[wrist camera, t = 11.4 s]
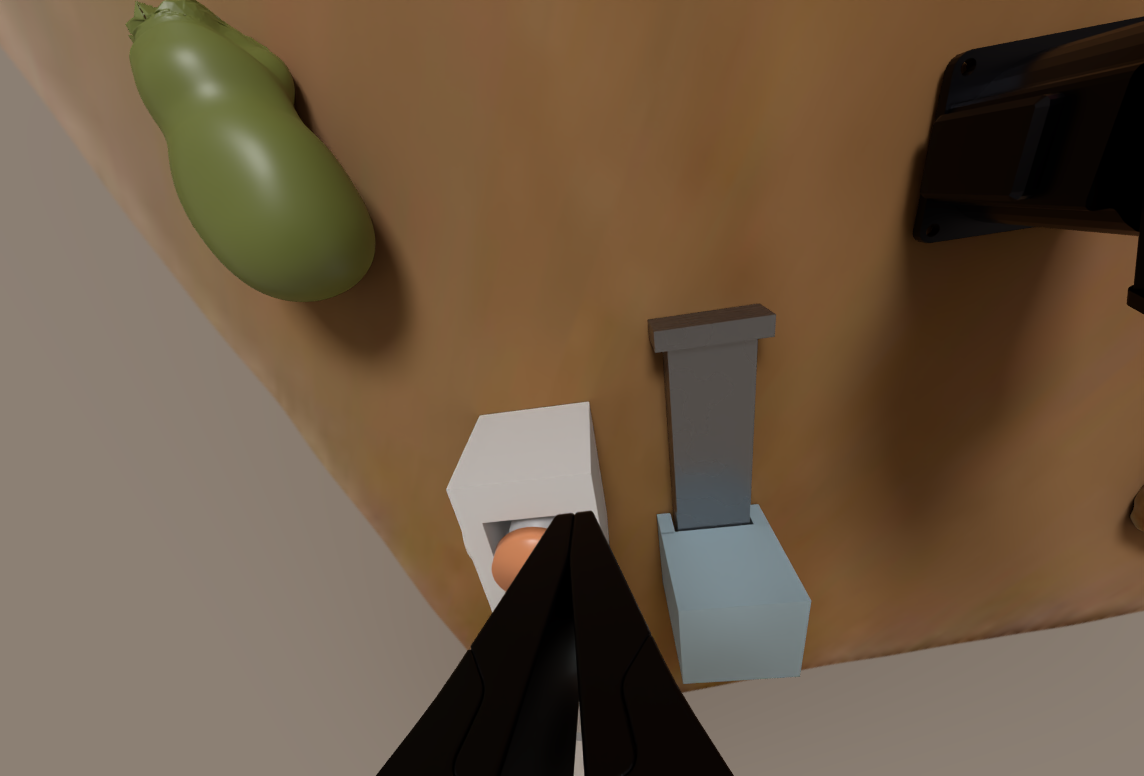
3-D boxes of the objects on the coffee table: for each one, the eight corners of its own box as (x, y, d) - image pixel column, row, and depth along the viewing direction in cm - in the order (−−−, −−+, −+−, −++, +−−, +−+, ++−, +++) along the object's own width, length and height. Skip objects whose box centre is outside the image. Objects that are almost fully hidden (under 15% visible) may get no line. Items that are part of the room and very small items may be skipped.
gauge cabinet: (589, 401, 22) (590, 473, 16) (607, 514, 25) (613, 604, 20) (472, 416, 22) (436, 490, 17) (505, 525, 26) (485, 615, 20)
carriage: (758, 504, 24) (811, 600, 19) (754, 573, 27) (799, 676, 21) (656, 514, 25) (678, 611, 19) (662, 581, 27) (683, 683, 22)
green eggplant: (223, 333, 14) (17, 23, 12) (324, 313, 19) (194, 92, 17) (348, 268, 13) (149, -91, 11) (421, 265, 18) (296, 19, 16)
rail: (759, 303, 19) (776, 314, 17) (746, 590, 28) (756, 615, 26) (647, 319, 19) (653, 331, 18) (669, 596, 28) (675, 621, 27)
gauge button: (572, 451, 22) (568, 537, 16) (582, 503, 23) (582, 597, 18) (506, 459, 22) (482, 546, 17) (520, 509, 23) (502, 603, 18)
